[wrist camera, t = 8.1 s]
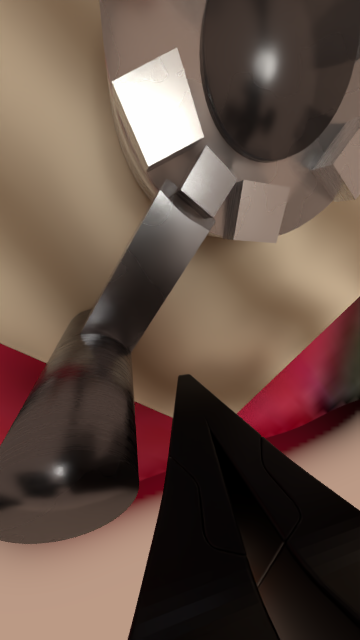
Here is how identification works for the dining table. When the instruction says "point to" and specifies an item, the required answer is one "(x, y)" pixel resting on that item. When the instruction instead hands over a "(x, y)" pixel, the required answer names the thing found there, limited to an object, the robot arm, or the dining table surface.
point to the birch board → (123, 219)
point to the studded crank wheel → (183, 216)
